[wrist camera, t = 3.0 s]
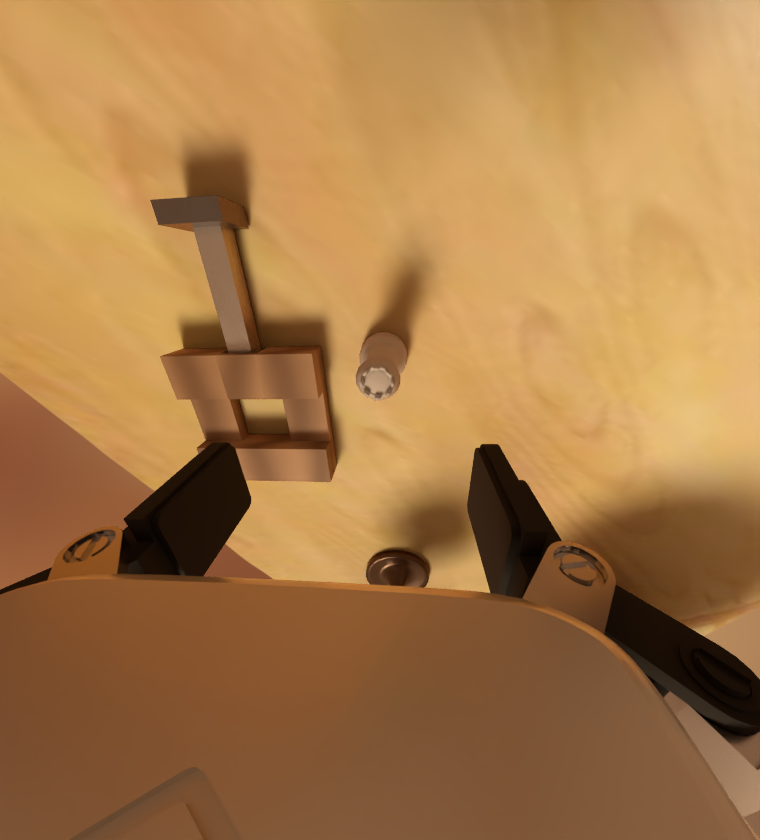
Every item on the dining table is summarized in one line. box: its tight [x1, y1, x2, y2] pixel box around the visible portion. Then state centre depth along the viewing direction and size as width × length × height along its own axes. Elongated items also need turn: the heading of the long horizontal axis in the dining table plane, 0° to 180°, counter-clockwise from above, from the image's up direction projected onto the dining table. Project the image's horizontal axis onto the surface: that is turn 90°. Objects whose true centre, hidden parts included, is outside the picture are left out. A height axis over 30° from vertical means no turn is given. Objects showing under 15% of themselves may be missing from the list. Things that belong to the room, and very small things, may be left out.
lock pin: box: [151, 195, 261, 354], centre depth 23 cm, size 5×11×4 cm, turn 2°
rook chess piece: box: [356, 332, 407, 400], centre depth 23 cm, size 4×4×8 cm
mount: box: [160, 346, 337, 482], centre depth 29 cm, size 14×14×3 cm
